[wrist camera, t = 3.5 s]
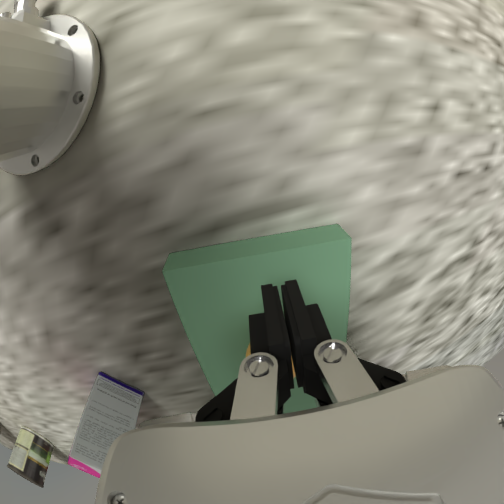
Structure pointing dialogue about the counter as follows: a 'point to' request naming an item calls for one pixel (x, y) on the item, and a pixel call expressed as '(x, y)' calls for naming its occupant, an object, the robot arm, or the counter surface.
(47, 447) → the coffee can
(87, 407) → the supplement box
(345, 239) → the green
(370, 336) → the counter surface
